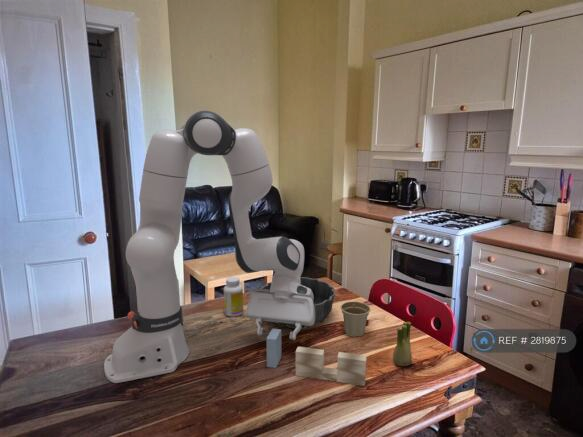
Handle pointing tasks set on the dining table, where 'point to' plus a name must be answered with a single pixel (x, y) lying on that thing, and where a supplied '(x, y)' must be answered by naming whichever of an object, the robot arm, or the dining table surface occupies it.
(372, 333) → the dining table surface
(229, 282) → the supplement bottle
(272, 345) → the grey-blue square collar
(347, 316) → the flower pot
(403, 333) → the fennel bulb
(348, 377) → the beech slot board
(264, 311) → the robot arm
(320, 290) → the bundt pan
